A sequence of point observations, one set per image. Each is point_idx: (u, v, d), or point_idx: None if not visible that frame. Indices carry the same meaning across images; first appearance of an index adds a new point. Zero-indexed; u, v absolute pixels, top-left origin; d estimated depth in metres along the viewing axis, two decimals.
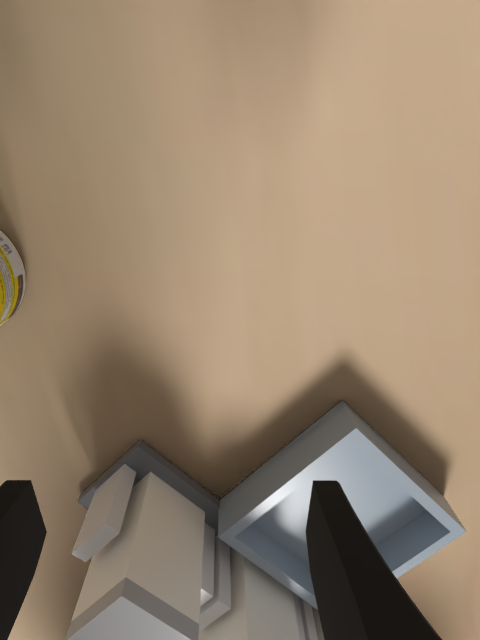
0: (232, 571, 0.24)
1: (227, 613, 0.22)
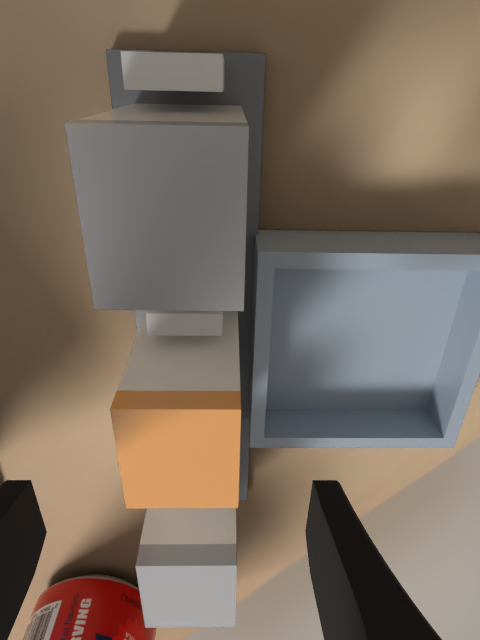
0: None
1: (200, 342, 0.15)
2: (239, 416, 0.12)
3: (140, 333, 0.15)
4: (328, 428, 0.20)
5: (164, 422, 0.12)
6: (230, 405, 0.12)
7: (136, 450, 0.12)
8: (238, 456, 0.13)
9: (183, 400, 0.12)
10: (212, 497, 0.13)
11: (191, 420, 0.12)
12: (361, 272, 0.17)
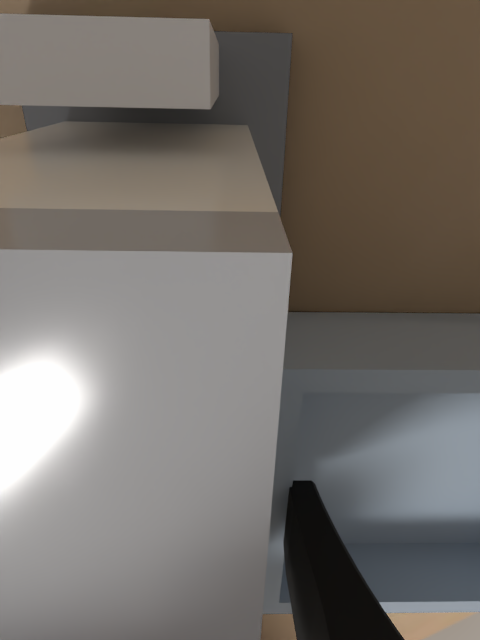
0: None
1: None
2: None
3: None
4: (371, 582, 0.14)
5: None
6: None
7: None
8: None
9: None
10: None
11: None
12: None
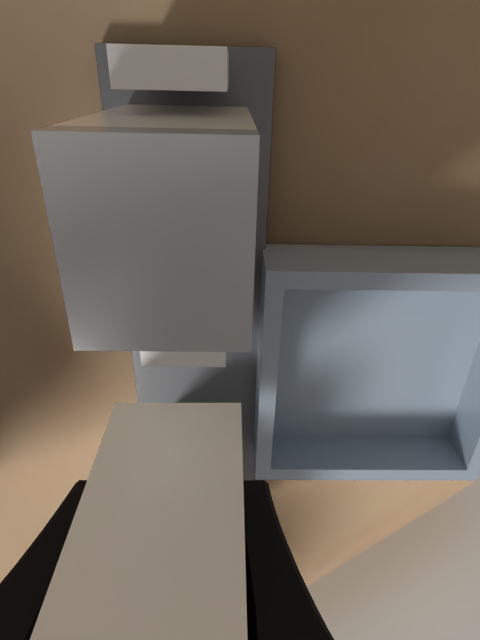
0: (207, 441, 0.11)
1: (182, 517, 0.09)
2: None
3: (86, 495, 0.09)
4: (340, 458, 0.18)
5: None
6: None
7: None
8: None
9: None
10: None
11: None
12: (379, 290, 0.16)
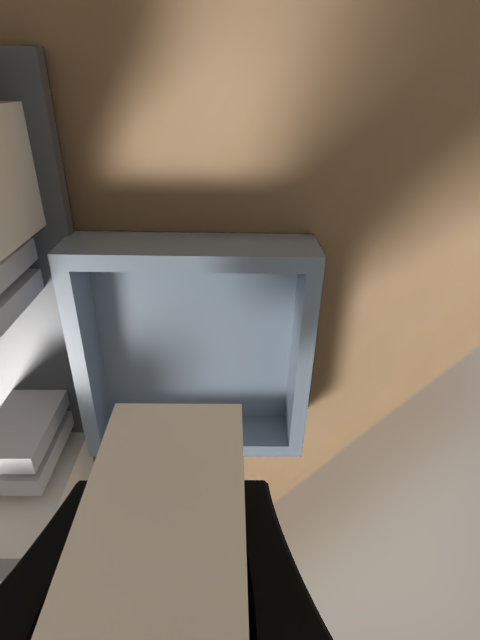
0: (208, 442, 0.11)
1: (183, 518, 0.09)
2: None
3: (86, 495, 0.09)
4: None
5: None
6: None
7: None
8: None
9: None
10: None
11: None
12: (186, 275, 0.17)
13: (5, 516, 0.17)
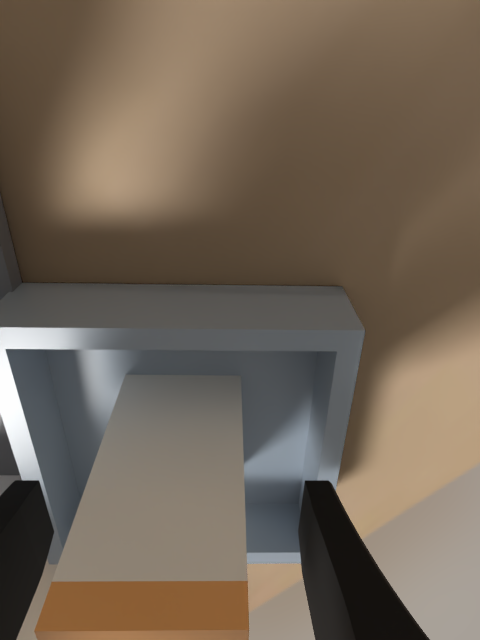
0: (210, 406, 0.12)
1: (188, 468, 0.10)
2: (246, 636, 0.07)
3: (102, 450, 0.11)
4: None
5: None
6: (231, 617, 0.07)
7: None
8: None
9: (156, 605, 0.07)
10: None
11: None
12: None
13: None
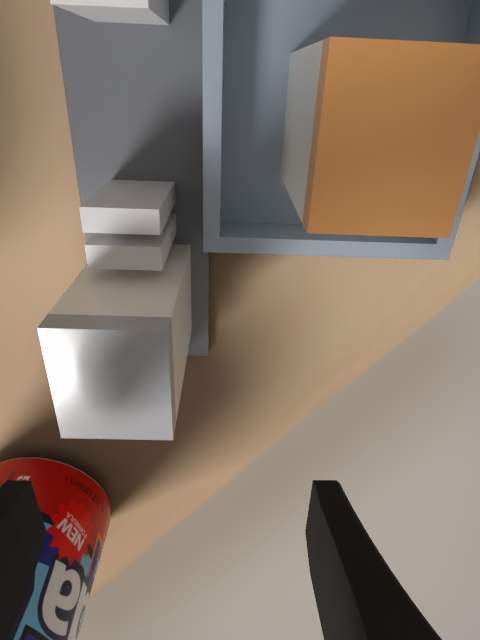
0: None
1: None
2: None
3: None
4: (298, 234, 0.16)
5: (396, 66, 0.09)
6: None
7: (346, 121, 0.09)
8: (475, 139, 0.10)
9: None
10: (422, 216, 0.10)
11: (433, 64, 0.09)
12: (338, 11, 0.14)
13: (120, 290, 0.14)
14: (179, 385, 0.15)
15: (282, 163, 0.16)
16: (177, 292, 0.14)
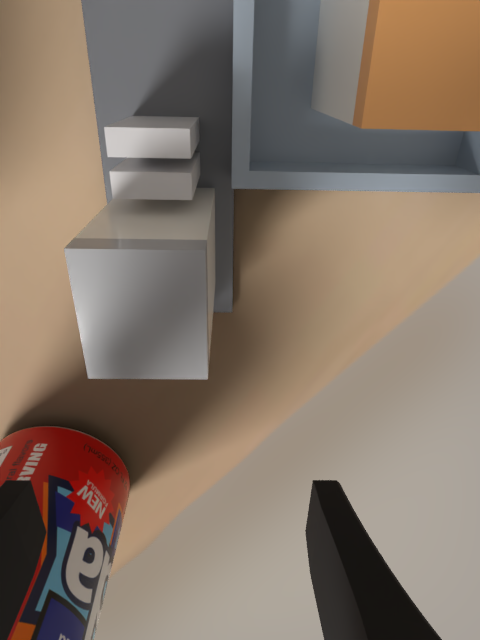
0: None
1: None
2: None
3: None
4: (332, 169, 0.15)
5: None
6: None
7: None
8: None
9: None
10: None
11: None
12: None
13: (148, 220, 0.13)
14: (210, 327, 0.14)
15: (314, 92, 0.15)
16: (209, 222, 0.13)
